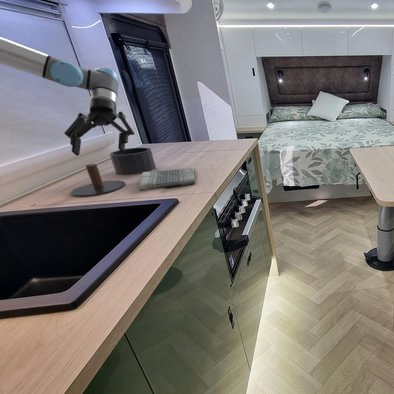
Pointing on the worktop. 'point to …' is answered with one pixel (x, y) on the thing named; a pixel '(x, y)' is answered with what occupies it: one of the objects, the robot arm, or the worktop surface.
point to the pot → (132, 161)
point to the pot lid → (96, 184)
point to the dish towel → (167, 178)
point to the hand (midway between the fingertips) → (98, 151)
